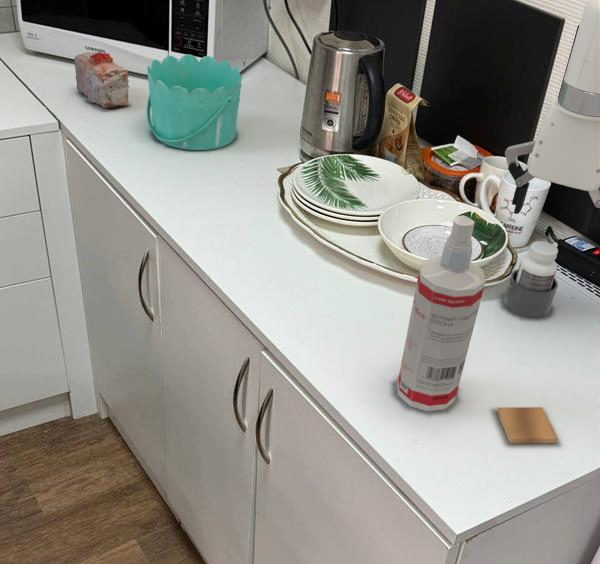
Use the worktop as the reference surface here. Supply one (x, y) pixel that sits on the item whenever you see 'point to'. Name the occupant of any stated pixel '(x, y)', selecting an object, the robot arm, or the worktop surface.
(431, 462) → the worktop surface
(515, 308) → the tin
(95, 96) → the food item
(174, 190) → the worktop surface
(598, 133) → the robot arm
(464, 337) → the spray bottle
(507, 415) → the brown wooden square tile
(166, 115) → the basket
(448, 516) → the worktop surface
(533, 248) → the pill bottle
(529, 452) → the worktop surface
